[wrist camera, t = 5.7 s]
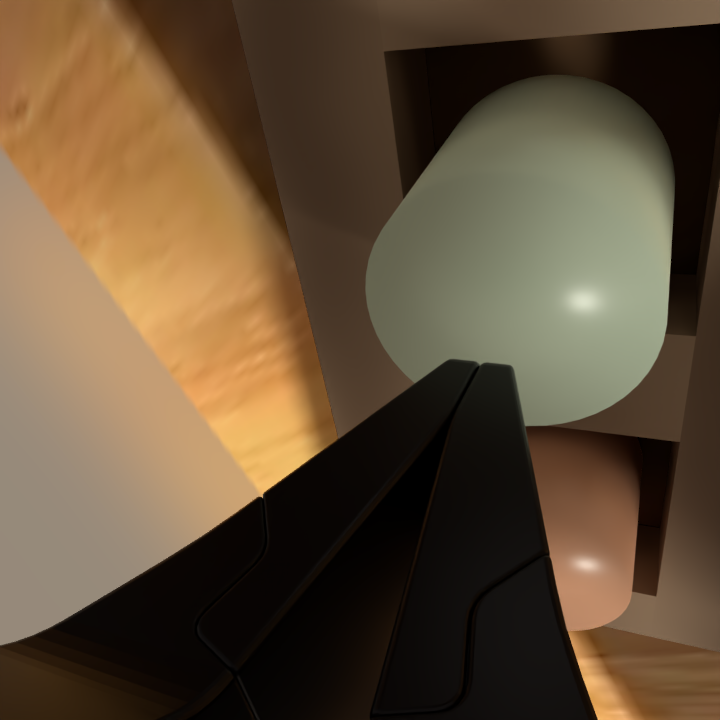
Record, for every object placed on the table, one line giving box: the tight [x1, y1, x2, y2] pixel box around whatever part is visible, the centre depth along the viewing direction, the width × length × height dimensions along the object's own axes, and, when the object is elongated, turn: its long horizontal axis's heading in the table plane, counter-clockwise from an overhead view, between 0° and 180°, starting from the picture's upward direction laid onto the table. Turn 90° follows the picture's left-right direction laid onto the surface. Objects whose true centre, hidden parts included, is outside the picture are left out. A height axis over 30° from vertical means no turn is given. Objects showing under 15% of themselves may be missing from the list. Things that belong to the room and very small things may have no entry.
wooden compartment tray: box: [232, 0, 720, 652], centre depth 14 cm, size 12×28×2 cm, turn 10°
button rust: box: [525, 426, 643, 631], centre depth 19 cm, size 5×5×4 cm
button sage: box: [365, 75, 675, 426], centre depth 12 cm, size 5×5×4 cm
